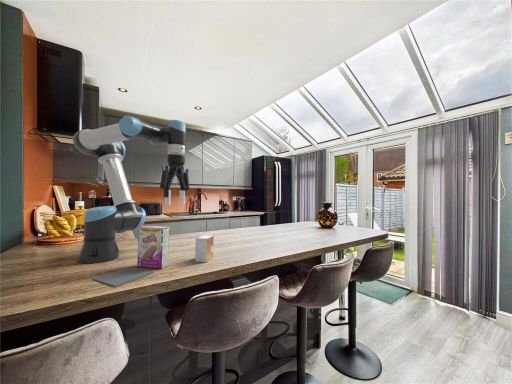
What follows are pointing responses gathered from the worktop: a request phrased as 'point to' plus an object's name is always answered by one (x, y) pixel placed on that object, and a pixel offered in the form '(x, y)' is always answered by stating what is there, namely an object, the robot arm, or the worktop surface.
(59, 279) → the worktop surface
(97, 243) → the robot arm
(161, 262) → the candy bar box
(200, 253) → the small box
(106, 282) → the mat
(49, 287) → the worktop surface
